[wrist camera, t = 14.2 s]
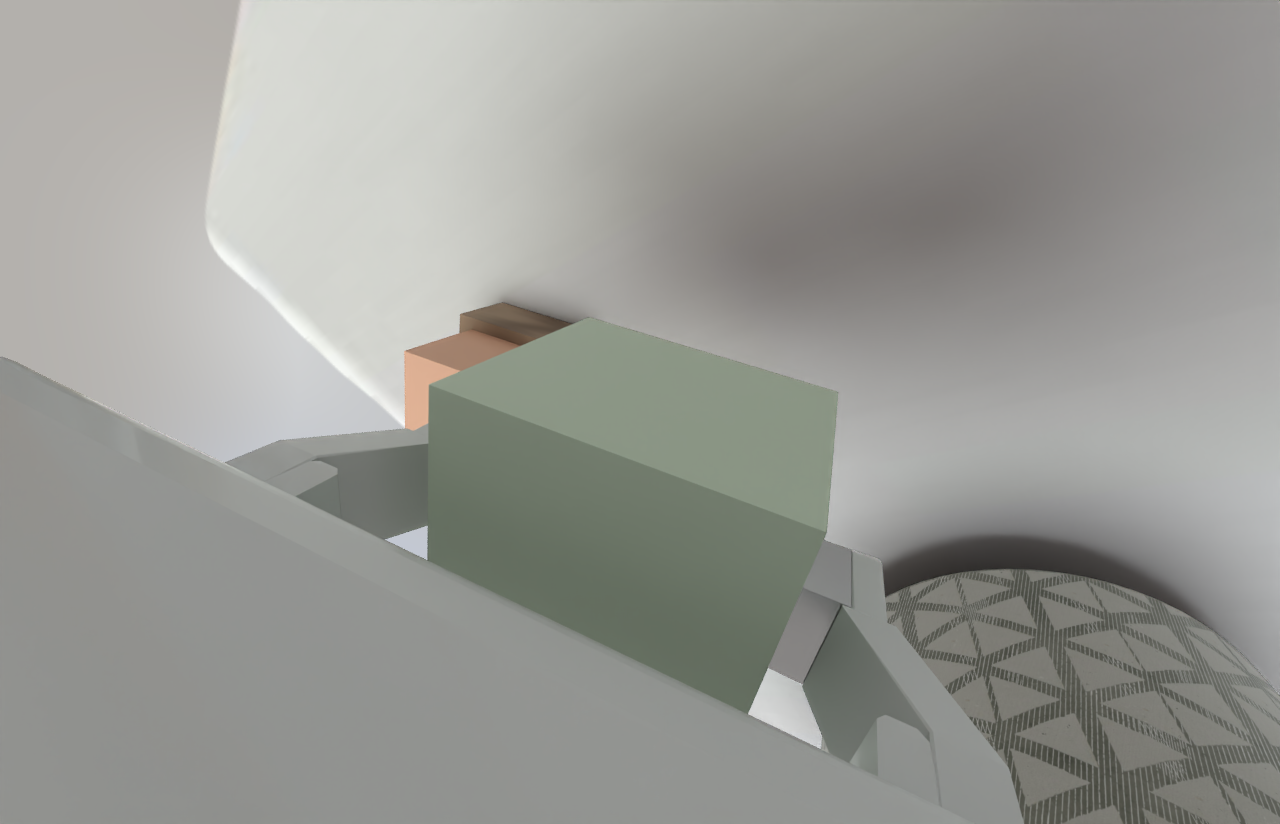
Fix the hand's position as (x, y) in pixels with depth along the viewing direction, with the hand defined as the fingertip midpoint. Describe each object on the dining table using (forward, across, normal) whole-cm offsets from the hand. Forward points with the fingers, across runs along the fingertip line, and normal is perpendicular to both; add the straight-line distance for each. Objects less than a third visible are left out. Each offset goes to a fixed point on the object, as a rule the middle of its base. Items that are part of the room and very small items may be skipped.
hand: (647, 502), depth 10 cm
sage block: (+2, 0, 0) cm, 2 cm away
